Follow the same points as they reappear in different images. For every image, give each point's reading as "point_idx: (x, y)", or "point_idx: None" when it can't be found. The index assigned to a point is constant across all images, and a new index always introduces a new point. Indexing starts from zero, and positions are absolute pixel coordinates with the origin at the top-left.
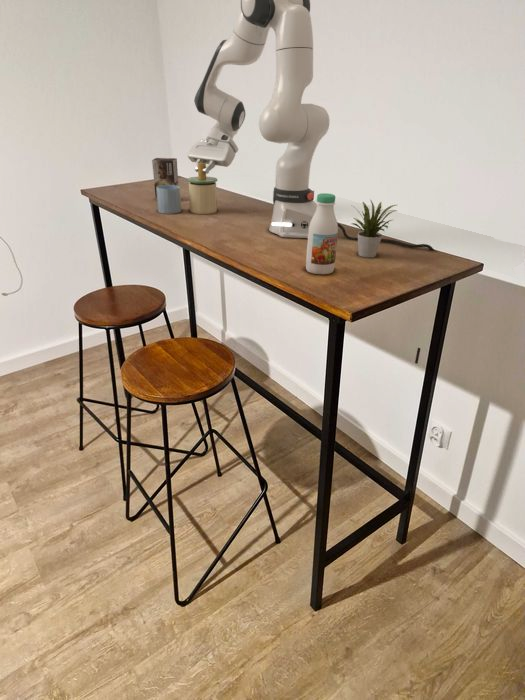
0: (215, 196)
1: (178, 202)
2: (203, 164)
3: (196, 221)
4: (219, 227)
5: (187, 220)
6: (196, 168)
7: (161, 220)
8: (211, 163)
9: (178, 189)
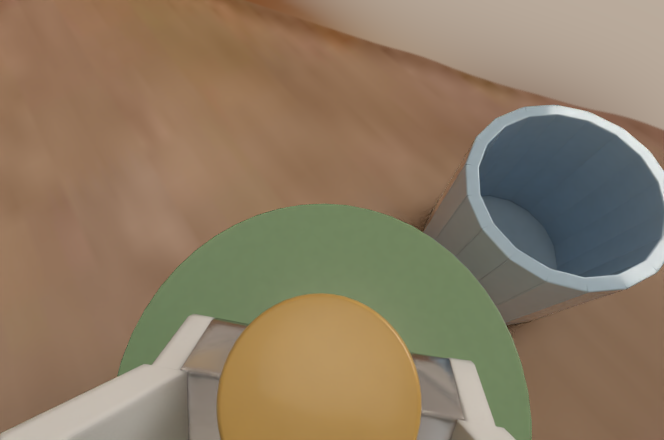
0: None
1: (435, 233)
2: (236, 342)
3: (221, 160)
4: (66, 134)
5: (272, 152)
6: (430, 360)
7: (377, 93)
8: (6, 431)
9: (466, 207)
